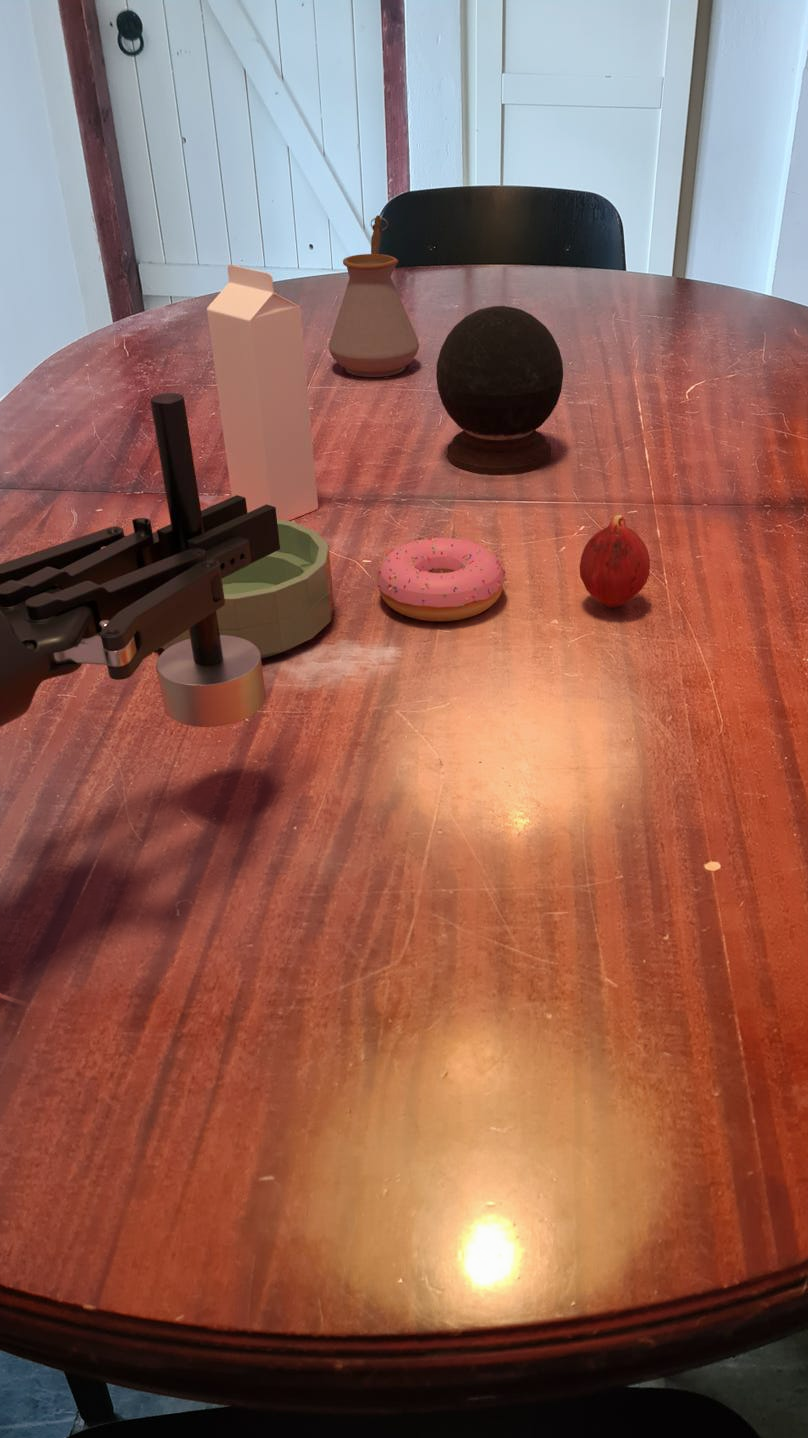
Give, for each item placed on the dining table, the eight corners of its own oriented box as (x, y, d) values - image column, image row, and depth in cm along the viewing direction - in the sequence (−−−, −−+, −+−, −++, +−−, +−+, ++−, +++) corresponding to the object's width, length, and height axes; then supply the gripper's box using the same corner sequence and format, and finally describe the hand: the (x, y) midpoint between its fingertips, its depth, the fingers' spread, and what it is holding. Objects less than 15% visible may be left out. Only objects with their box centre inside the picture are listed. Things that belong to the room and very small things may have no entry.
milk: (273, 528, 118) (244, 281, 104) (232, 512, 121) (199, 270, 108) (320, 509, 122) (298, 267, 108) (279, 493, 125) (252, 257, 111)
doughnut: (409, 564, 111) (406, 520, 109) (523, 583, 108) (524, 538, 105) (355, 616, 103) (352, 570, 101) (478, 638, 100) (477, 591, 97)
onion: (643, 625, 102) (651, 533, 97) (574, 620, 102) (578, 528, 98) (648, 594, 106) (656, 504, 101) (582, 589, 107) (586, 500, 102)
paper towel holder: (143, 715, 77) (81, 409, 65) (199, 668, 82) (150, 374, 70) (232, 735, 75) (184, 423, 64) (284, 686, 80) (248, 387, 68)
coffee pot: (417, 382, 153) (412, 250, 144) (325, 382, 153) (314, 251, 144) (426, 334, 170) (422, 214, 161) (343, 334, 170) (335, 214, 161)
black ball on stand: (412, 456, 133) (407, 308, 124) (498, 426, 140) (498, 284, 131) (500, 488, 126) (501, 333, 116) (585, 454, 133) (592, 307, 124)
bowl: (105, 648, 99) (90, 579, 96) (209, 570, 111) (199, 506, 107) (274, 683, 94) (266, 612, 91) (365, 598, 106) (360, 532, 102)
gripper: (-139, 698, 67) (184, 549, 82) (36, 791, 60) (354, 609, 75) (-186, 570, 62) (165, 437, 77) (-2, 653, 55) (345, 489, 70)
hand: (258, 522), depth 76 cm, fingers closed on paper towel holder, 2 cm apart
